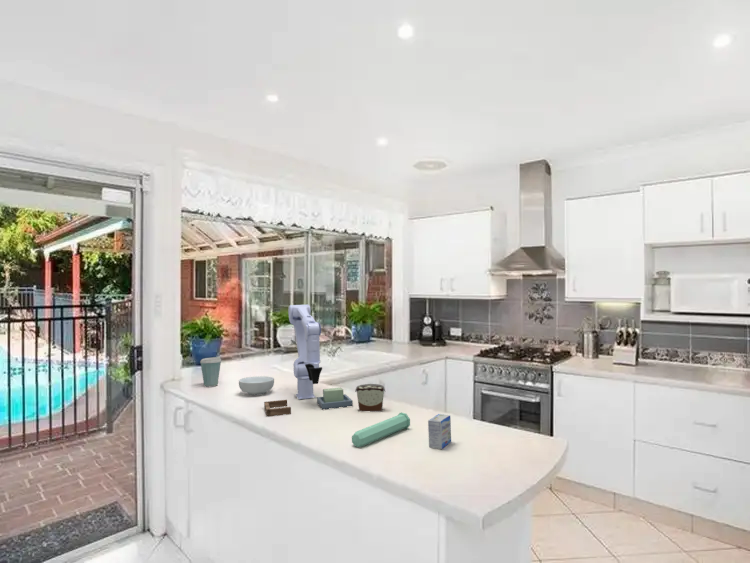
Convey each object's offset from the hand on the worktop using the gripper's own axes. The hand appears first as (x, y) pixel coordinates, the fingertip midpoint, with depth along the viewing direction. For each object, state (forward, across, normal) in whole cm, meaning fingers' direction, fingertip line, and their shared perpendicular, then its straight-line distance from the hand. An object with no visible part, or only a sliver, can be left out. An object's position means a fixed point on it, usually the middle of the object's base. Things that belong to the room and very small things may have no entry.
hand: (313, 382), depth 193 cm
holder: (+10, +3, -16) cm, 19 cm away
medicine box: (+10, +64, +28) cm, 71 cm away
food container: (+10, +17, +20) cm, 29 cm away
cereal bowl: (+10, -32, -22) cm, 40 cm away
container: (+10, +50, +13) cm, 53 cm away
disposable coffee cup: (+10, -61, -43) cm, 75 cm away
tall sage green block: (+9, +4, +8) cm, 12 cm away
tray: (+10, +4, +8) cm, 13 cm away
